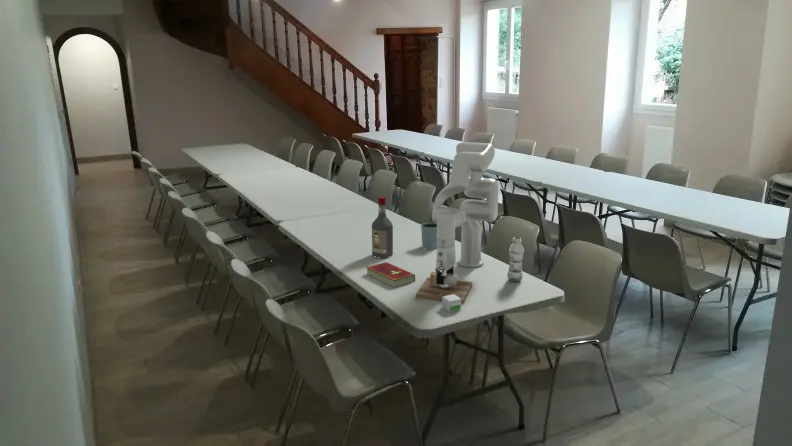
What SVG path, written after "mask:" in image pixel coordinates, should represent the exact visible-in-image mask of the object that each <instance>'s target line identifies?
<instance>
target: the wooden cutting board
mask: <svg viewBox="0 0 792 446" xmlns="http://www.w3.org/2000/svg"><path fill="white" fill-rule="evenodd" d="M472 287H473V281H465V280H458V279H457V285H456V286H454V285H450V288H449V289H441V288H440V284H430V277H429V276H427V277H426V279H425V280H424V282H423V283H422V285H420V287H419V289H418V290H417V292H416V293H415V299H418V300H419V299H420V300H427V301H428V300H429V301H436V302H442V296H447V295H452V294H455V295H456V296H458V297H459V298H461V305H464V304H465V302H466V299H467V297H468V296H469V293H470V292H471V289H472Z"/></svg>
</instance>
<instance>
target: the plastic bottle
mask: <svg viewBox="0 0 792 446" xmlns="http://www.w3.org/2000/svg"><path fill="white" fill-rule="evenodd" d="M511 241H512V244H510V246H509V248H508V253H509V265H508V271H507V279H508V281H510V282H514V283H515V282H521V281H522V279H523V258H524V253H525V248H524V245H523V244H522V237H519V236H514V237H512V240H511Z"/></svg>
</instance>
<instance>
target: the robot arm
mask: <svg viewBox="0 0 792 446" xmlns="http://www.w3.org/2000/svg"><path fill="white" fill-rule="evenodd" d="M455 151H456V154H455V156H454V158H453V163H452V166H451V172H450V175H449V182H448V184H447V185H446V186H444V187H443V188H442V189H441V190H440V192H439V193H438V194H437V195H436V197H435V199H434V201H433V206H432V207H433V208H432V210H431V220H432V223H435V224H437V246H438V248H436V259H435V263H436V264H435V265H436V266H435V268H434V270H435V272H436V275H437V276H436V283H437V284H440V285H444V276H443V274H444V273H448V274H455V273H454V268H455V265H456V229H457V228H459V227H461V237H460V238H461V239H460V241H461V242H460V244H461V245H460V258H458V259H457V264H458V265H459V266H461V267H464V268H478V267H479V268H480V267H482V266H483V265H484V264H485V261H484V260H483V259H482V257H481V256H482V232H483V231H482V230H483V229H482V226H481V223H480V222H494V221H496V220H497V218H498V211H499V184H498V181H497V180H496V179H494V178H487V177H484V176H483V172H486V171H487V169H488V168H489V166H490V165H491V164H492V162H493V160H494V158H495V153H496V152H495V151H496V150H495V147H494V145H493V144H491V143H485V142H472V141H471V142H470V141H464V142H459V143H457V144H456V146H455ZM460 193H464V195H465V196H466V197H468V198H475V199H464V200H463V201H462V202H461V203H460V207H459V208H454V207H444V206H443V204H444V202H446V200H447V199H448V198H450V197H453V196H455V195H457V194H460ZM480 199H485V200H480ZM479 221H480V222H479Z"/></svg>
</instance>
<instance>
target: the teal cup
mask: <svg viewBox="0 0 792 446" xmlns="http://www.w3.org/2000/svg"><path fill="white" fill-rule="evenodd" d="M420 229H421V231H420V232H421V247H422V248H423V249H424V248H425V249H424V250H437V248H438V246H437V224H435V223H434V222H423V223H422V224H420Z"/></svg>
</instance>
